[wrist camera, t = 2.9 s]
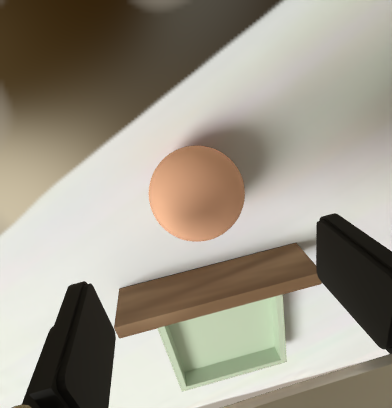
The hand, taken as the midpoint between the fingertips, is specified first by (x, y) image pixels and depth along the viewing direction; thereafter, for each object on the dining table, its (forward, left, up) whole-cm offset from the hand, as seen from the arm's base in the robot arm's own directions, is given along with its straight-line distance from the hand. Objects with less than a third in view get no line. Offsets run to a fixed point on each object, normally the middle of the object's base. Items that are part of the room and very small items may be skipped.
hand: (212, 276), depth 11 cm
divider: (+9, +1, -10) cm, 13 cm away
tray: (+16, +1, -10) cm, 19 cm away
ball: (0, +1, -10) cm, 10 cm away
